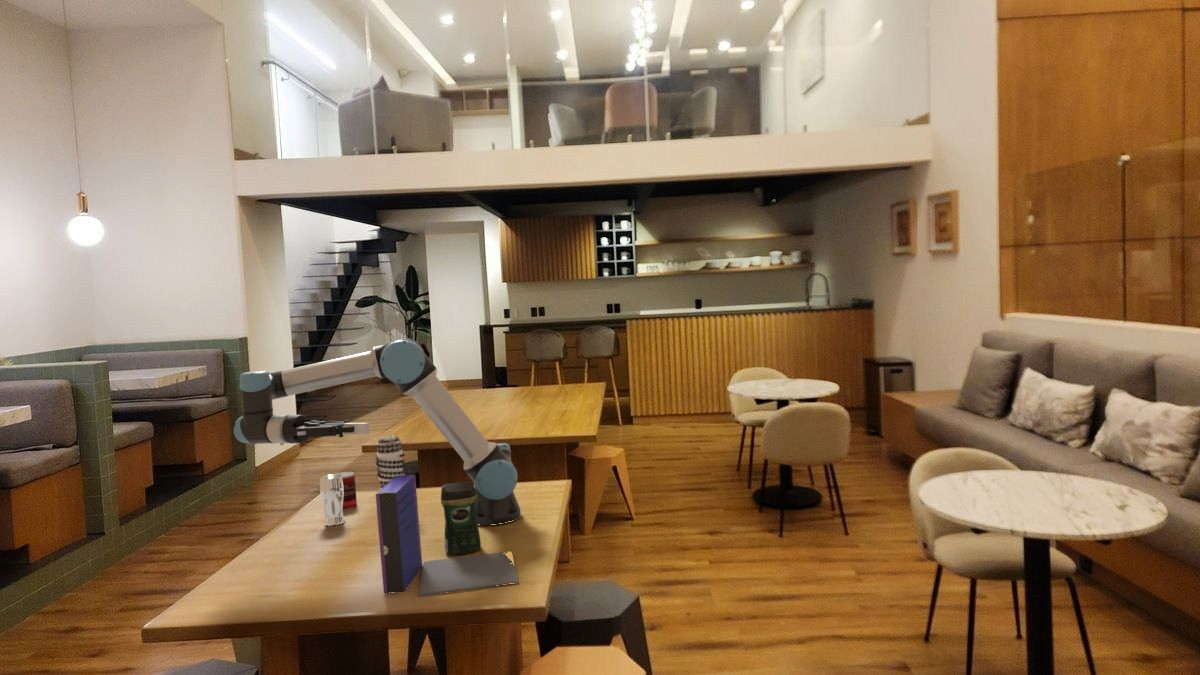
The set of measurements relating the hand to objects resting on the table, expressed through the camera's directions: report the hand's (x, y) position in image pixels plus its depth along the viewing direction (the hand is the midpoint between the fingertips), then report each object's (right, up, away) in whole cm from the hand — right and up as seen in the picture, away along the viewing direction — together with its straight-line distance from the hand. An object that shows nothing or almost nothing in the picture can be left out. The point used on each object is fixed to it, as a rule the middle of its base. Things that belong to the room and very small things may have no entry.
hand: (367, 428), depth 193 cm
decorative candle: (-7, -34, +51) cm, 61 cm away
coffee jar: (+23, -35, +10) cm, 43 cm away
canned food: (-27, -34, +63) cm, 77 cm away
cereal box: (+12, -36, -8) cm, 39 cm away
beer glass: (-24, -35, +44) cm, 61 cm away
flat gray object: (+27, -35, -7) cm, 45 cm away
